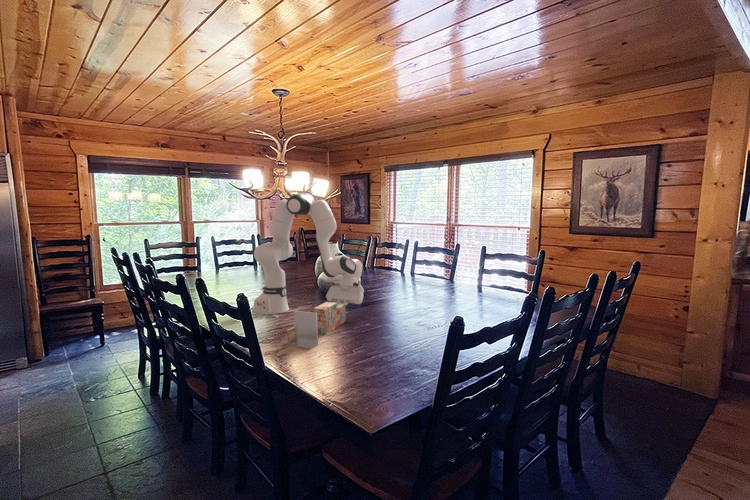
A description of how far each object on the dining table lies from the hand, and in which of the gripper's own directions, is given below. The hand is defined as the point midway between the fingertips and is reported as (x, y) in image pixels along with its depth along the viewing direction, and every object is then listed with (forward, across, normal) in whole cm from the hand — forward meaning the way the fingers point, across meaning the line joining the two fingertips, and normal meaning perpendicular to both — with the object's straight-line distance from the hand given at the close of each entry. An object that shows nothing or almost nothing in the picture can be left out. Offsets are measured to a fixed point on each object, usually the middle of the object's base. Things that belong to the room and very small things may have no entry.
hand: (340, 308), depth 204 cm
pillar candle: (-16, -15, +25) cm, 33 cm away
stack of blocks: (+13, +1, -4) cm, 14 cm away
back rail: (+20, -4, -12) cm, 24 cm away
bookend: (+31, +2, -23) cm, 39 cm away
